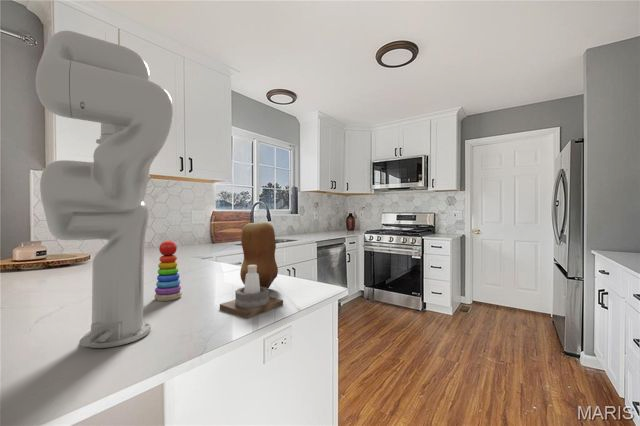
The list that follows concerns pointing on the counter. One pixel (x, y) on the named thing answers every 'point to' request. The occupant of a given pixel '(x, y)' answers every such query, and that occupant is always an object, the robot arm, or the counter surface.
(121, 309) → the robot arm
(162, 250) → the stacking toy
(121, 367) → the counter surface
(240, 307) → the shaft housing
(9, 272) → the counter surface
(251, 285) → the pepper shaker
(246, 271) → the butternut squash
